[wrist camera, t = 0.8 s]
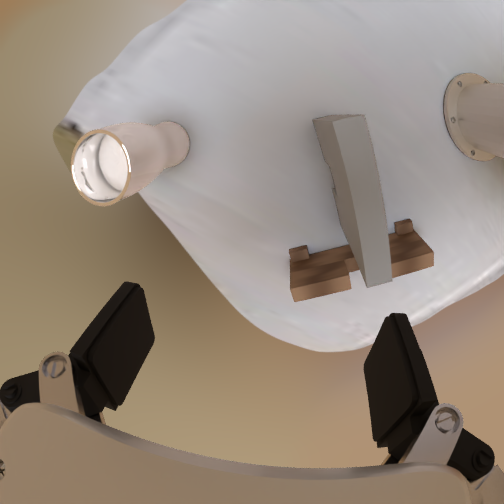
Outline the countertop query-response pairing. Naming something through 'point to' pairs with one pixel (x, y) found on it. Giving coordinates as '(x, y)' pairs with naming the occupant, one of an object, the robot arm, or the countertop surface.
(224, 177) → the countertop surface
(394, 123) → the countertop surface
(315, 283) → the walnut slotted plate
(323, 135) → the gray square panel
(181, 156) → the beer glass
